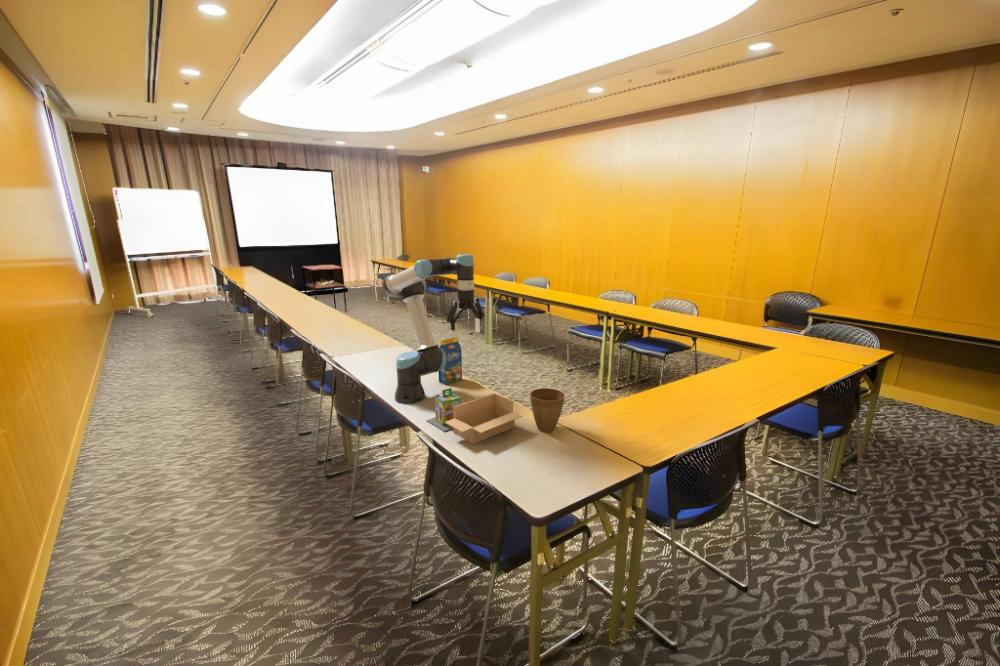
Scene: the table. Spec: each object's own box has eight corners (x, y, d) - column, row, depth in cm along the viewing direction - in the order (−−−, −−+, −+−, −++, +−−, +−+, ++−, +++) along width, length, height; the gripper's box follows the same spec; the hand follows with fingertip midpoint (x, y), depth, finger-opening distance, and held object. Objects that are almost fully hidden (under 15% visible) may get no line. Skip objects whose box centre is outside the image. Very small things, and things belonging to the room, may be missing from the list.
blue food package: (462, 380, 249) (461, 337, 243) (445, 385, 241) (444, 341, 235) (455, 377, 254) (454, 335, 248) (438, 382, 245) (437, 339, 239)
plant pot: (560, 438, 181) (561, 402, 177) (525, 433, 185) (526, 398, 182) (566, 423, 195) (567, 389, 191) (533, 419, 199) (534, 386, 195)
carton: (444, 436, 183) (443, 410, 180) (494, 417, 201) (494, 393, 198) (471, 452, 170) (470, 424, 167) (522, 430, 188) (522, 404, 185)
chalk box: (444, 426, 190) (443, 395, 186) (434, 419, 197) (433, 388, 194) (462, 421, 195) (461, 390, 191) (453, 414, 202) (452, 384, 199)
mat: (426, 421, 197) (426, 420, 197) (451, 412, 206) (451, 411, 206) (444, 432, 187) (444, 430, 187) (470, 422, 196) (470, 421, 196)
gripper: (448, 292, 186) (449, 340, 191) (491, 287, 202) (492, 331, 208) (437, 291, 192) (439, 337, 197) (481, 285, 208) (481, 329, 213)
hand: (466, 334), depth 202 cm, fingers open, 13 cm apart
